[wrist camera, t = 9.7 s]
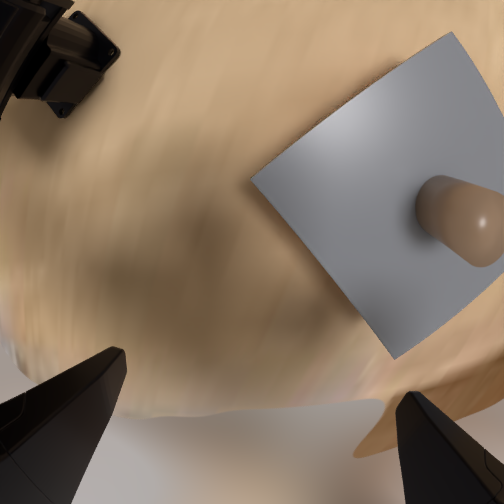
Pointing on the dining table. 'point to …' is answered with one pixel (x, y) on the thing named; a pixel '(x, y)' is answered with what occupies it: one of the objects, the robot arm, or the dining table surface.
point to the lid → (402, 193)
